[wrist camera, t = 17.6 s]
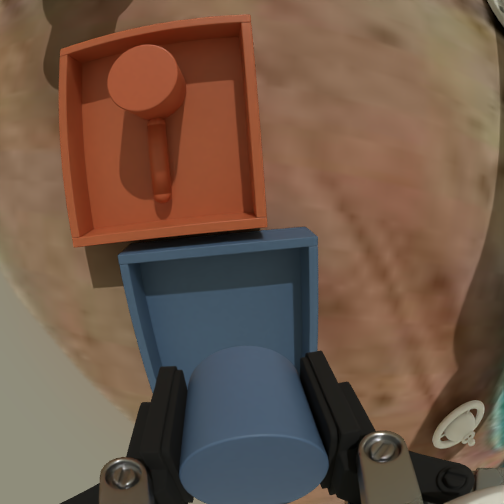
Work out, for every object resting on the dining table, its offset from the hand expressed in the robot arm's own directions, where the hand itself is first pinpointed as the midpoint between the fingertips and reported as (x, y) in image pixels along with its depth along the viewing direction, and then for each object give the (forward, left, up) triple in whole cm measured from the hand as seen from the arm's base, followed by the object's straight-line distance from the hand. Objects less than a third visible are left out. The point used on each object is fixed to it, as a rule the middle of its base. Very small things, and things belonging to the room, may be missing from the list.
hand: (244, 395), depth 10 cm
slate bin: (+4, -1, -13) cm, 13 cm away
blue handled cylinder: (+3, 0, 0) cm, 3 cm away
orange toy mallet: (-10, -4, -12) cm, 16 cm away
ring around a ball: (+23, +25, -13) cm, 36 cm away
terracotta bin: (-10, -4, -13) cm, 17 cm away
